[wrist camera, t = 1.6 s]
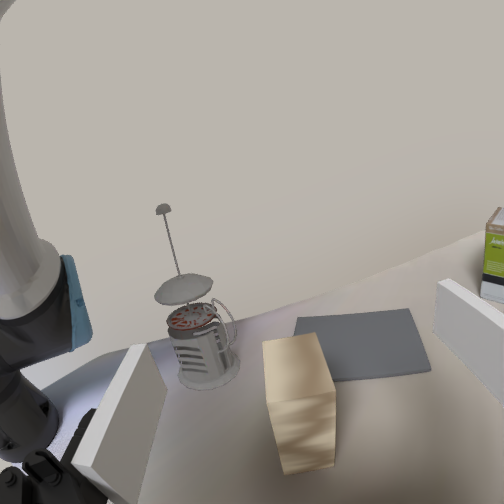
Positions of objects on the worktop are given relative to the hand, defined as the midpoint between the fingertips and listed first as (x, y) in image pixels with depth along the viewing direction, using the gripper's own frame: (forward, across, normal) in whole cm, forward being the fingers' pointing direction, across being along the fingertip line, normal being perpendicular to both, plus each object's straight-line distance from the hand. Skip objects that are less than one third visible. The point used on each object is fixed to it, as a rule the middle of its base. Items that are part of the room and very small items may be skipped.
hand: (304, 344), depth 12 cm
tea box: (+26, +46, -21) cm, 57 cm away
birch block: (+9, 0, -20) cm, 22 cm away
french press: (+25, -11, -20) cm, 34 cm away
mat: (+25, +11, -20) cm, 34 cm away
